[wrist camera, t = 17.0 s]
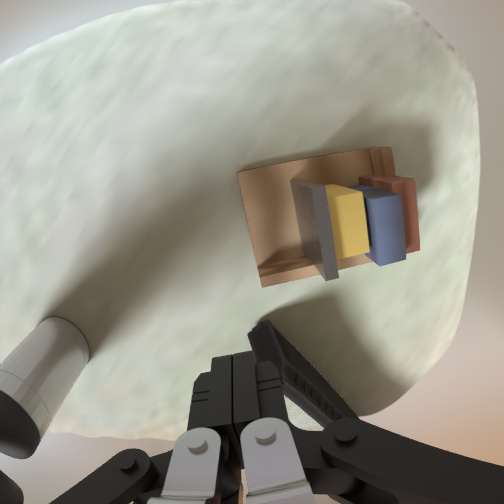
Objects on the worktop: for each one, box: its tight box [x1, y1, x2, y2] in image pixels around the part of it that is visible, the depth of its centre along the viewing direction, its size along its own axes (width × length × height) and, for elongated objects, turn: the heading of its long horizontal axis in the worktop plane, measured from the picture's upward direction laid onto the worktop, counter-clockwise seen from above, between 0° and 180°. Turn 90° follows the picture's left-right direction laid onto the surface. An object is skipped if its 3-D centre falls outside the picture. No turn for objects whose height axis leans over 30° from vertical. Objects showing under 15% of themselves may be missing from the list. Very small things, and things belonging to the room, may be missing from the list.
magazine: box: [248, 320, 359, 428], centre depth 39 cm, size 17×3×30 cm
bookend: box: [290, 179, 339, 281], centre depth 31 cm, size 1×8×10 cm, turn 11°
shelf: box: [237, 147, 420, 288], centre depth 32 cm, size 17×12×12 cm
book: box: [325, 184, 370, 260], centre depth 31 cm, size 4×6×9 cm, turn 12°
